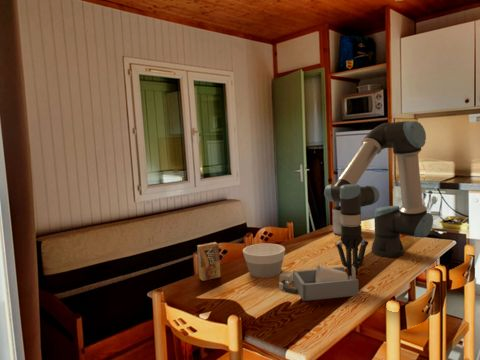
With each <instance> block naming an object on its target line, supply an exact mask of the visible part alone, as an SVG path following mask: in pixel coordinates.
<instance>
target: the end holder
mask: <svg viewBox="0 0 480 360" xmlns="http://www.w3.org/2000/svg"><path fill="white" fill-rule="evenodd" d="M331 268H332V269H336V270H340V271H343V272H346V270H345V267H344V266H334V267H331ZM316 269H317V268H314V269H313V268H311V269H302V270H293V271H292V273H293V281H292V283H293V288H296V289H298V292H297V294H299V296H300V298H301V299H302V301H303V302H305V301H307V302H308V301H316V300H326V299H327V300H328V299H335V298H346V297H354V296H355V297H357V296H359V295H360V294H359V292H360V291H359V288H360V287H359V279H358V278H356V279H350V278H349V279H348V280H339V281H329V282H318V283H315V276H316Z"/></svg>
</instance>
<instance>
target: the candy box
mask: <svg viewBox="0 0 480 360" xmlns="http://www.w3.org/2000/svg"><path fill="white" fill-rule="evenodd" d="M219 245H220V244H219V243H217V242H216V241H214V242H209V243H203V244H198V245H196V248H197V250H196V251H197V265H198V266H197V267H198V276H199V277H198V279H199V280H201V281H208V280H212V279H217V278H221V264H220V263H221V262H220V247H219Z"/></svg>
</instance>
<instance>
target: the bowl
mask: <svg viewBox="0 0 480 360" xmlns="http://www.w3.org/2000/svg"><path fill="white" fill-rule="evenodd" d="M242 254H243V256H244V259H245V263H246V266H247V269H248V272H249V275H250V276H252V277H254V278H259V277H260V278H264V279H266V278H267V279H268V278H273V277H276V276H279V275H280V274H281V271H282V267H283V263H284V259H285V255H286V248H285V246H284V245H281V244H277V243H257V244H255V243H254V244H252V245H251V244H250V245H247V246H245V247H243V249H242Z"/></svg>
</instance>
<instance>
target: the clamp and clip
mask: <svg viewBox="0 0 480 360" xmlns="http://www.w3.org/2000/svg"><path fill="white" fill-rule="evenodd" d="M278 276H279V282H278V289H280V291H284V289H283V283H281V282H282V281H283V280H287V281H285V284H286V285H287V286H288V287H291V285H290V284H291V283H293V272H288V271H283V272H282V273H280V274H279V275H278Z"/></svg>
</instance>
